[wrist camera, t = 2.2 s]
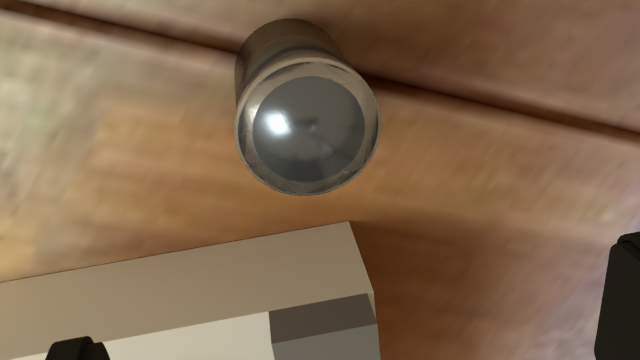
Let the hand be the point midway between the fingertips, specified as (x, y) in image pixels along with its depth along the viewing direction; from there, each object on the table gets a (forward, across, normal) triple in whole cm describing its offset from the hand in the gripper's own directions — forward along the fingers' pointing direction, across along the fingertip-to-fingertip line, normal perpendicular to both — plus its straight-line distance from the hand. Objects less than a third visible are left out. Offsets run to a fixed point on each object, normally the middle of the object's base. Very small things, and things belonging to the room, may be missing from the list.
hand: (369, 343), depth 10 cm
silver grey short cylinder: (+18, 0, 0) cm, 18 cm away
